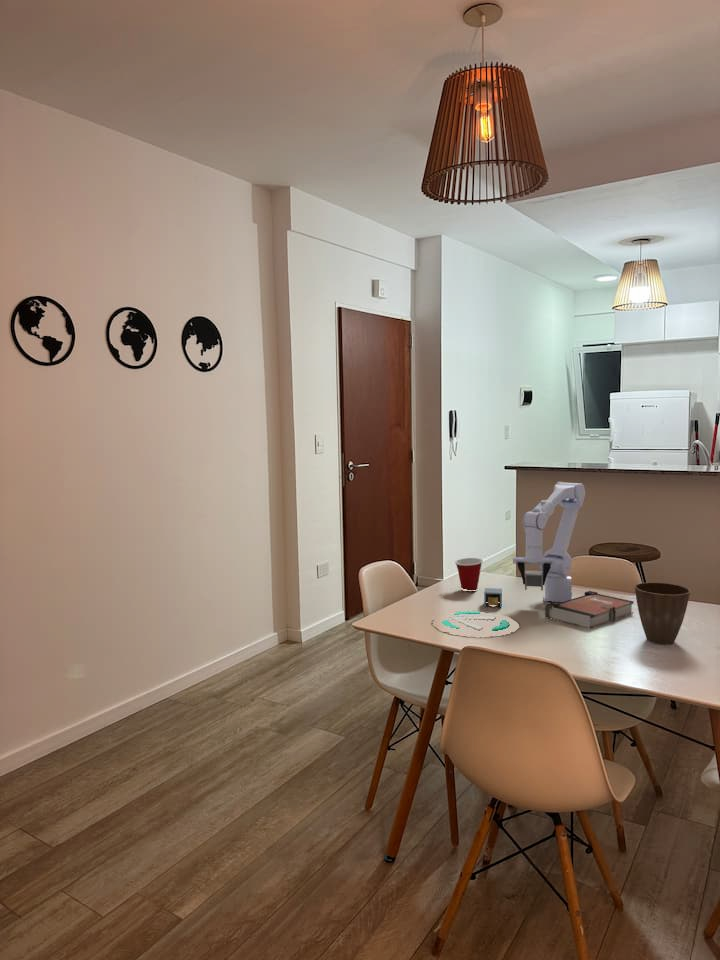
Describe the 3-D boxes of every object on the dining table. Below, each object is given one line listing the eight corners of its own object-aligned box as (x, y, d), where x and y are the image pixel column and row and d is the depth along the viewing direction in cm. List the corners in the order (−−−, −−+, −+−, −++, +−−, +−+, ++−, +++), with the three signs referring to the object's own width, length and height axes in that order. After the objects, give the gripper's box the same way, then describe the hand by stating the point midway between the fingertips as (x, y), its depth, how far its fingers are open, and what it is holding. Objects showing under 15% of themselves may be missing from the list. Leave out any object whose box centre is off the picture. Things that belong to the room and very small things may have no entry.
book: (591, 630, 213) (592, 615, 213) (545, 618, 227) (545, 604, 227) (635, 614, 230) (635, 600, 229) (589, 604, 243) (589, 590, 243)
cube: (498, 604, 243) (498, 595, 243) (498, 607, 240) (498, 597, 240) (488, 604, 244) (488, 594, 244) (488, 607, 241) (487, 597, 240)
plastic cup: (451, 587, 268) (450, 558, 267) (477, 586, 270) (477, 556, 269) (459, 594, 257) (459, 563, 256) (486, 593, 259) (486, 562, 258)
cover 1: (501, 603, 244) (501, 588, 244) (501, 608, 238) (501, 593, 238) (485, 602, 246) (485, 588, 245) (484, 607, 240) (484, 592, 239)
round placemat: (452, 609, 240) (452, 604, 240) (530, 620, 226) (530, 615, 226) (417, 631, 216) (417, 626, 216) (502, 645, 202) (502, 639, 202)
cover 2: (542, 586, 240) (542, 571, 240) (542, 590, 235) (543, 575, 234) (524, 585, 242) (524, 570, 241) (525, 589, 236) (525, 574, 236)
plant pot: (642, 629, 212) (643, 579, 211) (694, 639, 203) (695, 586, 201) (626, 642, 201) (627, 589, 199) (680, 652, 191) (682, 597, 190)
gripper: (512, 547, 235) (512, 585, 236) (556, 548, 231) (555, 587, 233) (512, 543, 241) (512, 581, 243) (555, 544, 238) (554, 582, 239)
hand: (533, 584), depth 238 cm, fingers closed on cover 2, 6 cm apart
